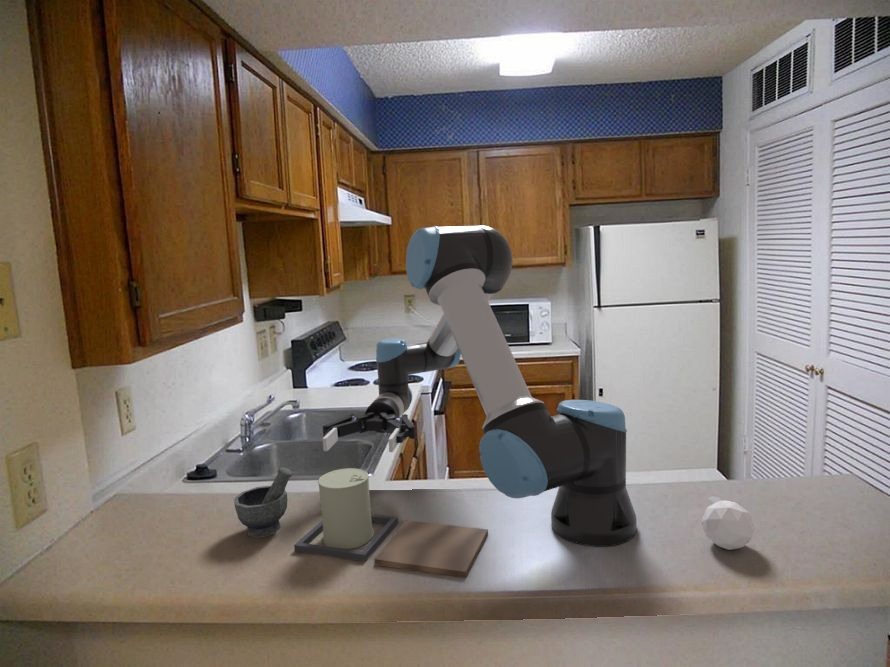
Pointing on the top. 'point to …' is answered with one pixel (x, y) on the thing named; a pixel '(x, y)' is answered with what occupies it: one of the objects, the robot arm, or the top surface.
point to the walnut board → (433, 548)
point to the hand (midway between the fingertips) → (357, 445)
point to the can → (345, 508)
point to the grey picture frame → (346, 553)
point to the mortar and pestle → (263, 506)
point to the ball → (728, 525)
